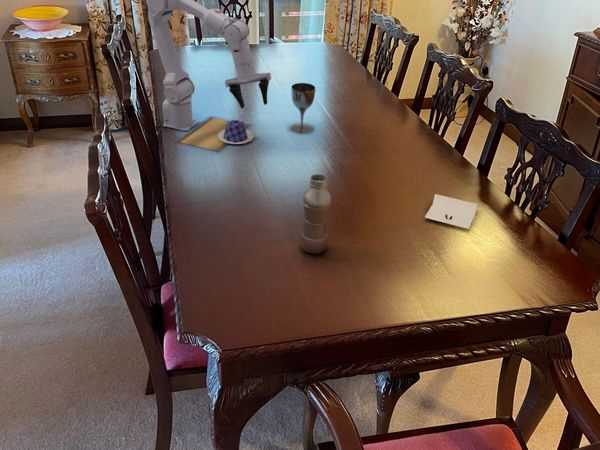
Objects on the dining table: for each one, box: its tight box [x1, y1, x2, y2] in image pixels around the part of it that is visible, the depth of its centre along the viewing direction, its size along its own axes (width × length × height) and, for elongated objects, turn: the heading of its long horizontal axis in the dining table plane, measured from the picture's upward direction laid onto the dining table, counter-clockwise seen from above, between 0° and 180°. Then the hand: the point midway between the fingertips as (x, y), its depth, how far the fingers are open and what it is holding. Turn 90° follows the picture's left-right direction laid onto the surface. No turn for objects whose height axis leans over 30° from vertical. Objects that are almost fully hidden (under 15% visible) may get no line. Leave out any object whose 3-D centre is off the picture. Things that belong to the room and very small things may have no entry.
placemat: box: [177, 117, 249, 152], centre depth 187 cm, size 15×22×1 cm
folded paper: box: [424, 193, 478, 230], centre depth 150 cm, size 12×12×2 cm
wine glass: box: [290, 82, 316, 134], centre depth 189 cm, size 8×8×15 cm
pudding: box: [217, 119, 255, 145], centre depth 183 cm, size 12×12×5 cm
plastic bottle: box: [299, 173, 332, 255], centre depth 130 cm, size 6×7×20 cm
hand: (254, 105), depth 176 cm, fingers open, 7 cm apart
